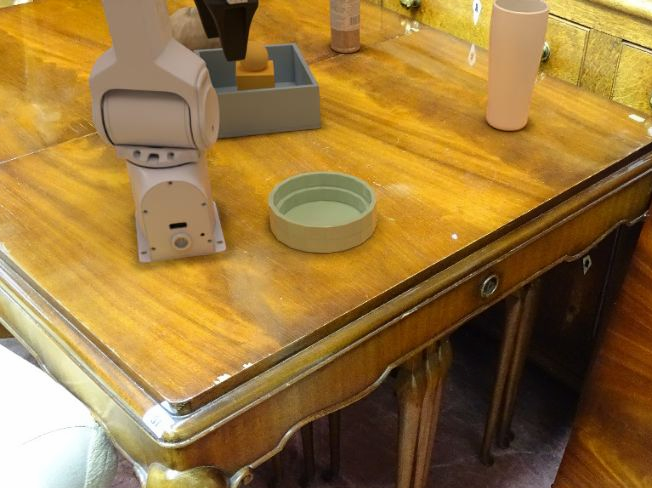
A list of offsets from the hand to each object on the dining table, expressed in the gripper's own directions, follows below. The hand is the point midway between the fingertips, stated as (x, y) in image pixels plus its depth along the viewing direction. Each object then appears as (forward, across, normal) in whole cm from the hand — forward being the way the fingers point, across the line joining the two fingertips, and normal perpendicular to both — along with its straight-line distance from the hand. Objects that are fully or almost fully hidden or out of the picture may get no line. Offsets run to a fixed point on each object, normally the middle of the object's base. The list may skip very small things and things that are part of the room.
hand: (225, 48), depth 91 cm
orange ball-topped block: (+8, -2, +4) cm, 9 cm away
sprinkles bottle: (+9, -17, +23) cm, 30 cm away
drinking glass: (+9, +14, +31) cm, 36 cm away
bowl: (+9, +27, +1) cm, 29 cm away
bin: (+9, -2, +4) cm, 10 cm away
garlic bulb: (+9, -16, 0) cm, 19 cm away
